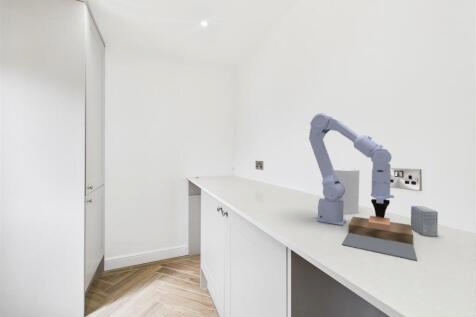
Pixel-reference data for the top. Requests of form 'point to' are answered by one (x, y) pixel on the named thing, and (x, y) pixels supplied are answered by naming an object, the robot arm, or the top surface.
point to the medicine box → (424, 220)
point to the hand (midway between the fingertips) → (379, 219)
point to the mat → (380, 246)
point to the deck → (382, 231)
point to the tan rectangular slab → (379, 223)
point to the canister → (349, 189)
